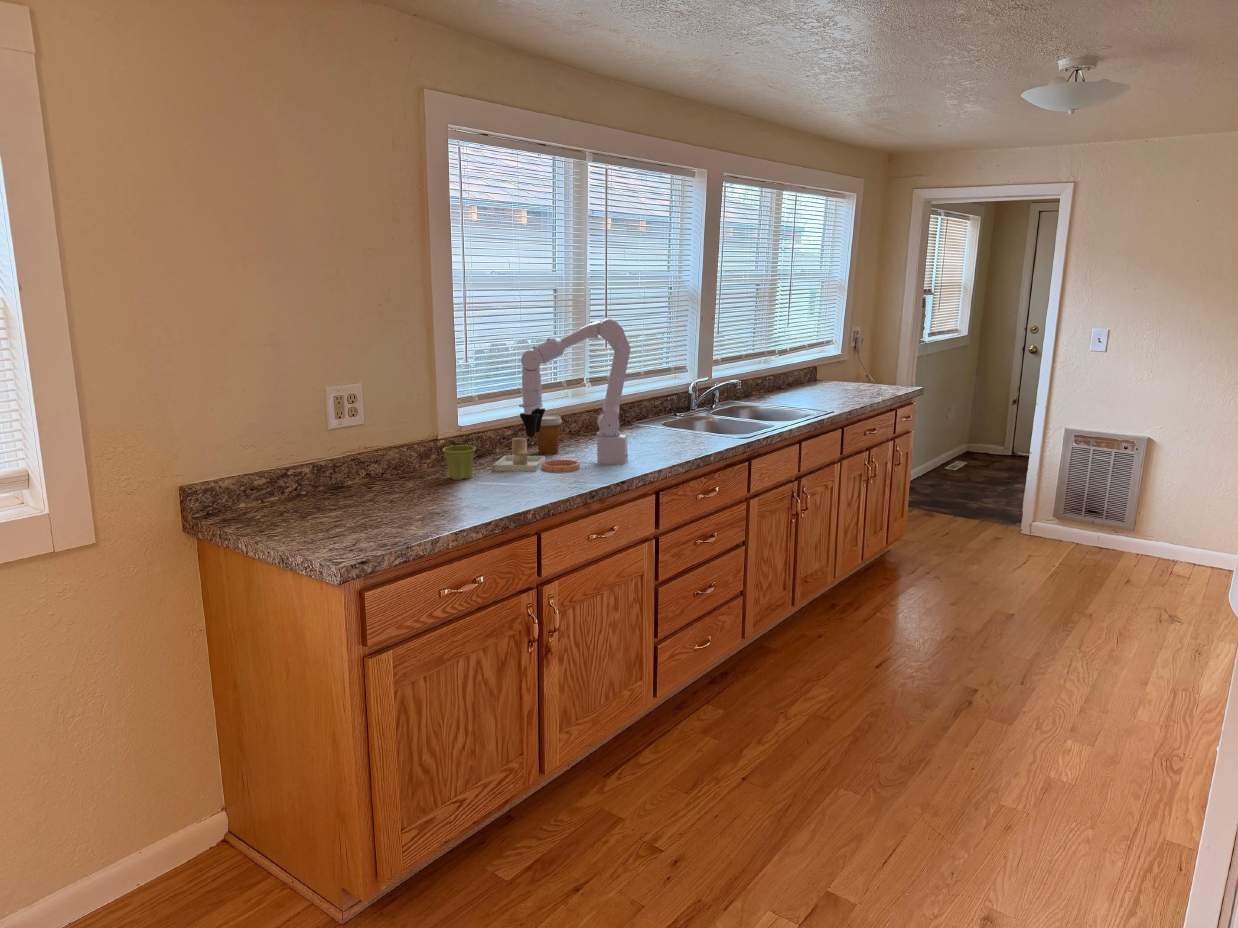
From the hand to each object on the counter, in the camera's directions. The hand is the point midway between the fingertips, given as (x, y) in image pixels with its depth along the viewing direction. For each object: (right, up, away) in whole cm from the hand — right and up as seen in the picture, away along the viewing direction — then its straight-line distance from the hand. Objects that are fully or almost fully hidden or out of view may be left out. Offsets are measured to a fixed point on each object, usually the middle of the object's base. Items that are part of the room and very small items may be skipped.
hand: (533, 434), depth 261 cm
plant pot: (-20, -13, -15) cm, 28 cm away
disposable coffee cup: (+3, -6, +20) cm, 21 cm away
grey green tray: (-4, -10, -2) cm, 11 cm away
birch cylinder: (-4, -9, -2) cm, 10 cm away
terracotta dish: (+9, -11, -5) cm, 15 cm away
